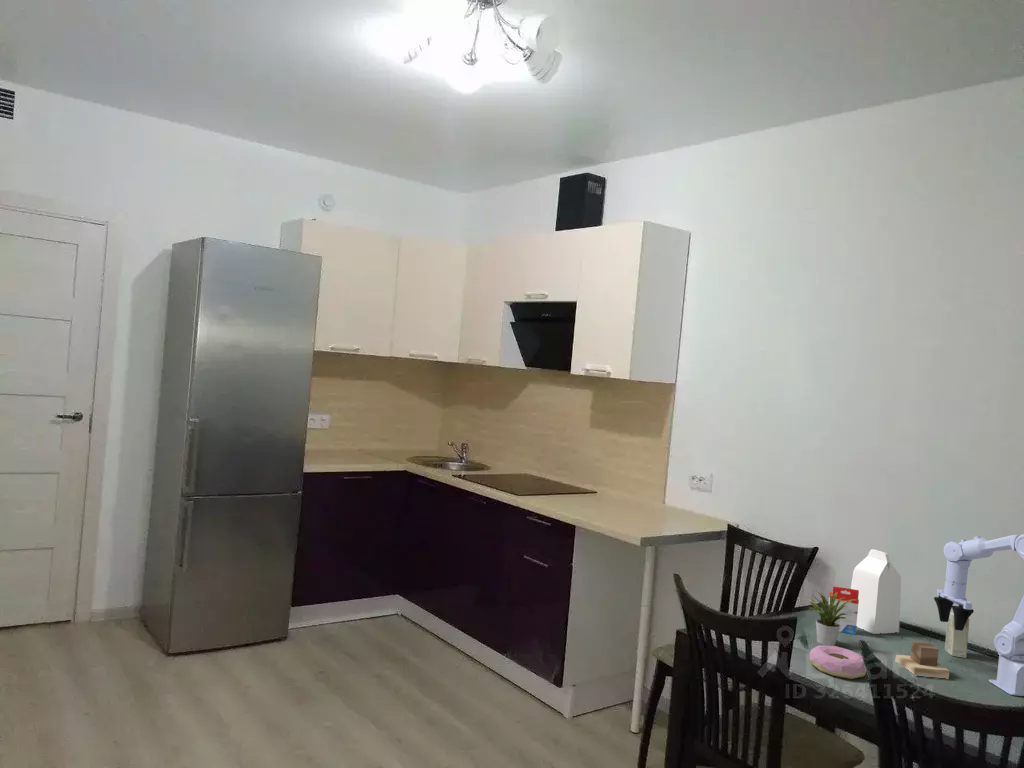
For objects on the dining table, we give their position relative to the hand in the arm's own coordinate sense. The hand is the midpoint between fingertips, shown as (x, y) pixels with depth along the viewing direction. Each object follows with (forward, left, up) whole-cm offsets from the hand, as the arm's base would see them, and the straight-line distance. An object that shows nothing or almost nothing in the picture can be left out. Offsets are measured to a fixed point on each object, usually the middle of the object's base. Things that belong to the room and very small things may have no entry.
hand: (951, 625), depth 231 cm
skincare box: (+6, -6, -11) cm, 14 cm away
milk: (+27, +10, -11) cm, 31 cm away
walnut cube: (-12, +14, -8) cm, 20 cm away
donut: (-17, +42, -11) cm, 47 cm away
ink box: (+20, +24, -11) cm, 33 cm away
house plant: (+6, +34, -11) cm, 36 cm away
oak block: (-12, +15, -11) cm, 22 cm away
